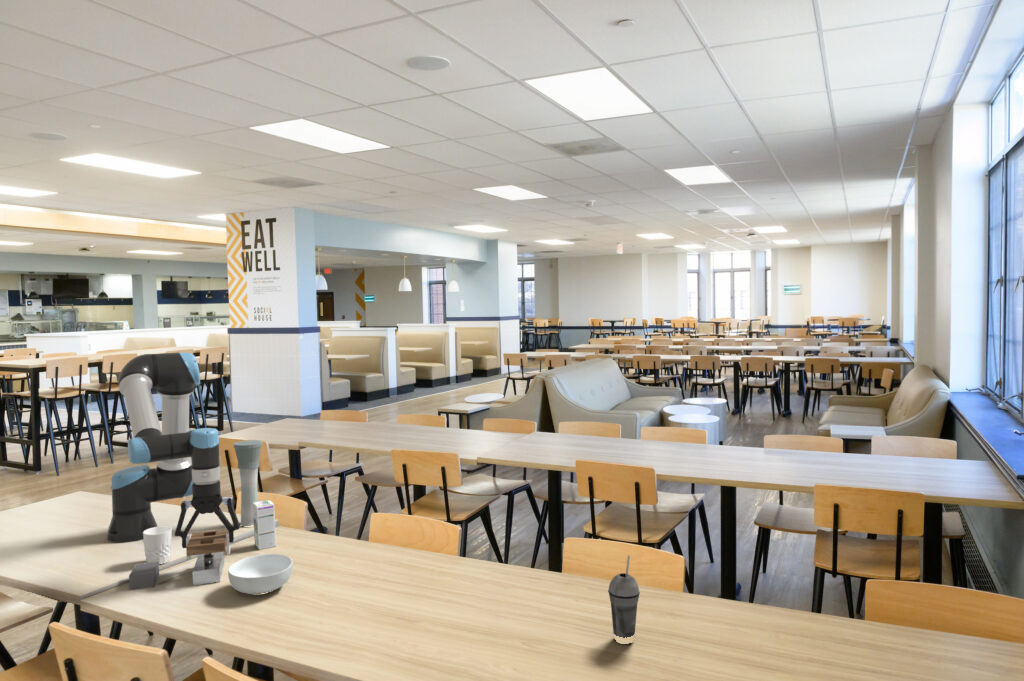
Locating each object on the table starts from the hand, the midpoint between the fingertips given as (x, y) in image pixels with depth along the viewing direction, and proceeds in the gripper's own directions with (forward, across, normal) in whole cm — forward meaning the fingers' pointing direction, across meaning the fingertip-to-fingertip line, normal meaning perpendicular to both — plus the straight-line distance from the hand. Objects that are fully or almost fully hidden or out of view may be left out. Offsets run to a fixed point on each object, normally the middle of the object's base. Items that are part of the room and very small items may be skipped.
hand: (208, 555), depth 196 cm
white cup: (+6, -16, +16) cm, 23 cm away
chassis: (+5, 0, 0) cm, 5 cm away
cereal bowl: (+6, +15, -17) cm, 23 cm away
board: (-3, 0, 0) cm, 3 cm away
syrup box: (+6, +15, +19) cm, 25 cm away
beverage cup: (+6, +96, -77) cm, 123 cm away
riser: (+5, -17, 0) cm, 18 cm away
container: (+6, +9, +45) cm, 46 cm away
